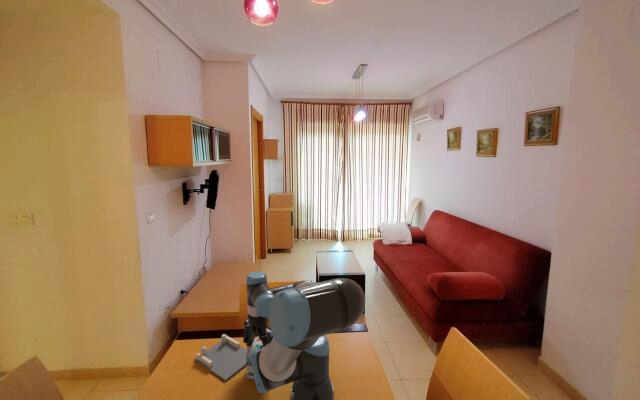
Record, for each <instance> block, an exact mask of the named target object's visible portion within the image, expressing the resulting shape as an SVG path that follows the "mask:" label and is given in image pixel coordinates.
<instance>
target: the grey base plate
mask: <svg viewBox="0 0 640 400" xmlns="http://www.w3.org/2000/svg"><path fill="white" fill-rule="evenodd" d="M200 351H201V353H200V352H198V353H196V357H194V358H193V359H194V360H193V361H195V362H196V363H198V364H200V365H201V366H202V367H203V368H205V369H207V370H208V371H210V372H211V373H213V374H214V375H215V376H217V377H218V378H219V379H221V380H223V381H224V382H227V381H228V380H229V379H231V378H232V377H234V375H236V374H237V373H239V372H240V371H241V370H242V369H244V368H245V367H247V365H246V353H247V351H248V350H247V348H245V347H243V346H241V343H240V342H239V341H237V340H236V339H234V338H232V337H230V336H229V335H227V334H226V333H223V334H222V335H221V341H219V342H218V343H216V344H214V345H213V346H211V347H210V348H207V347H206V346H202V347H200Z"/></svg>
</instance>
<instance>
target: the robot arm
mask: <svg viewBox="0 0 640 400" xmlns="http://www.w3.org/2000/svg"><path fill="white" fill-rule="evenodd" d="M245 282H246V283H245V286H246V297H247V298H246V302H247V304H246V306H247V308H246V309H247V320H245V321H244V322H243V325H244V331H243V339H242V342H243V344H245V345H246V346H247V348H246V349H247V350H249V348H250V347H251V345H252V344H253V342H254V341H255V339H256V337H259V339H260V340H261V341H262V344H263V347H264V348H263V349H262V351H260V352H259V351H257V352H256V353H254V354H252V355H251V363H252V369H253V374H254V379H255V380H254V379H253V380H254V382H255V386H256V390H257V393H259V394H264V393H269V392H271V391H272V390H275V389H277V388H280V387H283V386H285V385H289V384H291V383H292V385H291V390H290V398H291V400H334V398H335V397H334V395H335V389H334V386H333V382H332V381H331V377H330V342H329V338H328V337H327V335H330V334H333V333H337V332H339V331H343V330H346V329H349V328H350V327H353V325H355V324H356V323H357V322H358V321H359V320H361V317H362V316H363V313H364V311H365V308H366V296H365V292H364V290H363V288H362V287H361V285H360V284H358V283H357V282H356V281H355V280H352V279H350V278H345V277H340V278H339V277H337V278H332V279H329V280H322V281H318V282H316V281H315V282H313V281H312V280H311V279H307V280H301V281H296V282H293V283H288V284H282V285H279V286H278V285H277V286H274V287H270V286H269V285H268V276H267V273H266V272H264V271H252V272H250V273H248V274H247V275H246V280H245ZM268 322H269V327H270V328H269V327H268Z"/></svg>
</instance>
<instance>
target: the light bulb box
mask: <svg viewBox="0 0 640 400" xmlns="http://www.w3.org/2000/svg"><path fill="white" fill-rule="evenodd" d="M263 348H264V347H263V344H262V341H261V340H260V339H259V336H255V338H254V341H253V343H252V345H251V347H250V348H249V350H248V351H247V353H246V378H247V379H249V380H254V381H255V379H254V374H253V369H252V363H251V355H252V354H254V353H256V352H257V351H259V352H260V351H262V349H263Z"/></svg>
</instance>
